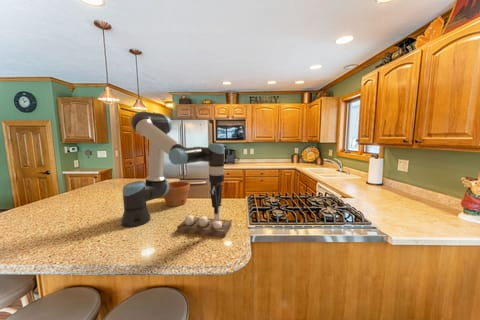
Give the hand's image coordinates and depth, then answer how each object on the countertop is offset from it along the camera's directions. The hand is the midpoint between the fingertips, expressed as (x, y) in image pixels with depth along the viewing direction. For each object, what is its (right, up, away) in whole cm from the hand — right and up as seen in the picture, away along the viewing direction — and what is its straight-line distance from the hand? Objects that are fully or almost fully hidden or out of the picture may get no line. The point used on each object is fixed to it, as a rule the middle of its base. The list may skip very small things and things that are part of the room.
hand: (216, 218), depth 98 cm
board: (-7, -7, +5) cm, 11 cm away
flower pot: (-37, -3, +46) cm, 59 cm away
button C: (0, -6, 0) cm, 6 cm away
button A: (-15, -4, +4) cm, 16 cm away
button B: (-7, -4, +2) cm, 9 cm away
